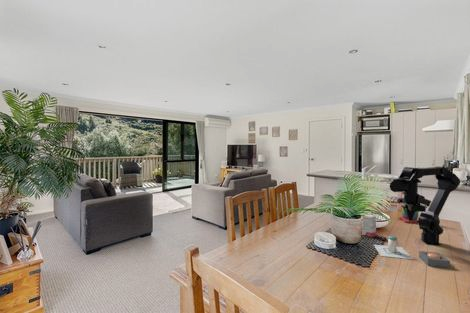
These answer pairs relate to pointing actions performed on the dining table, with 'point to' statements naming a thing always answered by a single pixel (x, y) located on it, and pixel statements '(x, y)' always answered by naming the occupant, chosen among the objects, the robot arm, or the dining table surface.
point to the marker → (392, 244)
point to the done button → (433, 255)
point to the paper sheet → (399, 254)
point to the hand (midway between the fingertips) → (410, 220)
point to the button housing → (434, 260)
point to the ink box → (369, 225)
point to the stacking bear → (405, 219)
